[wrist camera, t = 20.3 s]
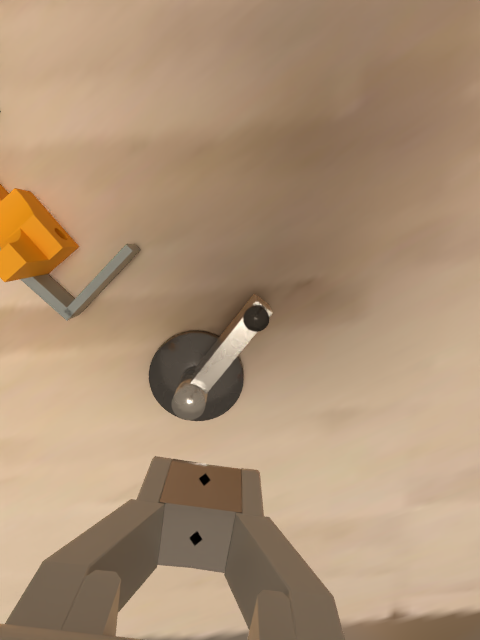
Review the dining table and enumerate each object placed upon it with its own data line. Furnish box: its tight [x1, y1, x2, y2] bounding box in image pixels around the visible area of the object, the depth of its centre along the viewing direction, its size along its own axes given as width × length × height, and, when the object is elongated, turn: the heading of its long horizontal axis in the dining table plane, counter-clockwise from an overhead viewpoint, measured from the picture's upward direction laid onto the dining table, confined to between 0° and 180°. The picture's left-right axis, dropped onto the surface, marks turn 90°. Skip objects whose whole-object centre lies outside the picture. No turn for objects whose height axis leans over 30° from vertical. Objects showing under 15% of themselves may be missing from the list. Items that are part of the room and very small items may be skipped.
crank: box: [172, 293, 272, 420], centre depth 31 cm, size 12×3×5 cm, turn 142°
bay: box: [0, 111, 140, 320], centre depth 30 cm, size 10×18×2 cm, turn 44°
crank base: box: [149, 331, 243, 421], centre depth 35 cm, size 10×10×1 cm
